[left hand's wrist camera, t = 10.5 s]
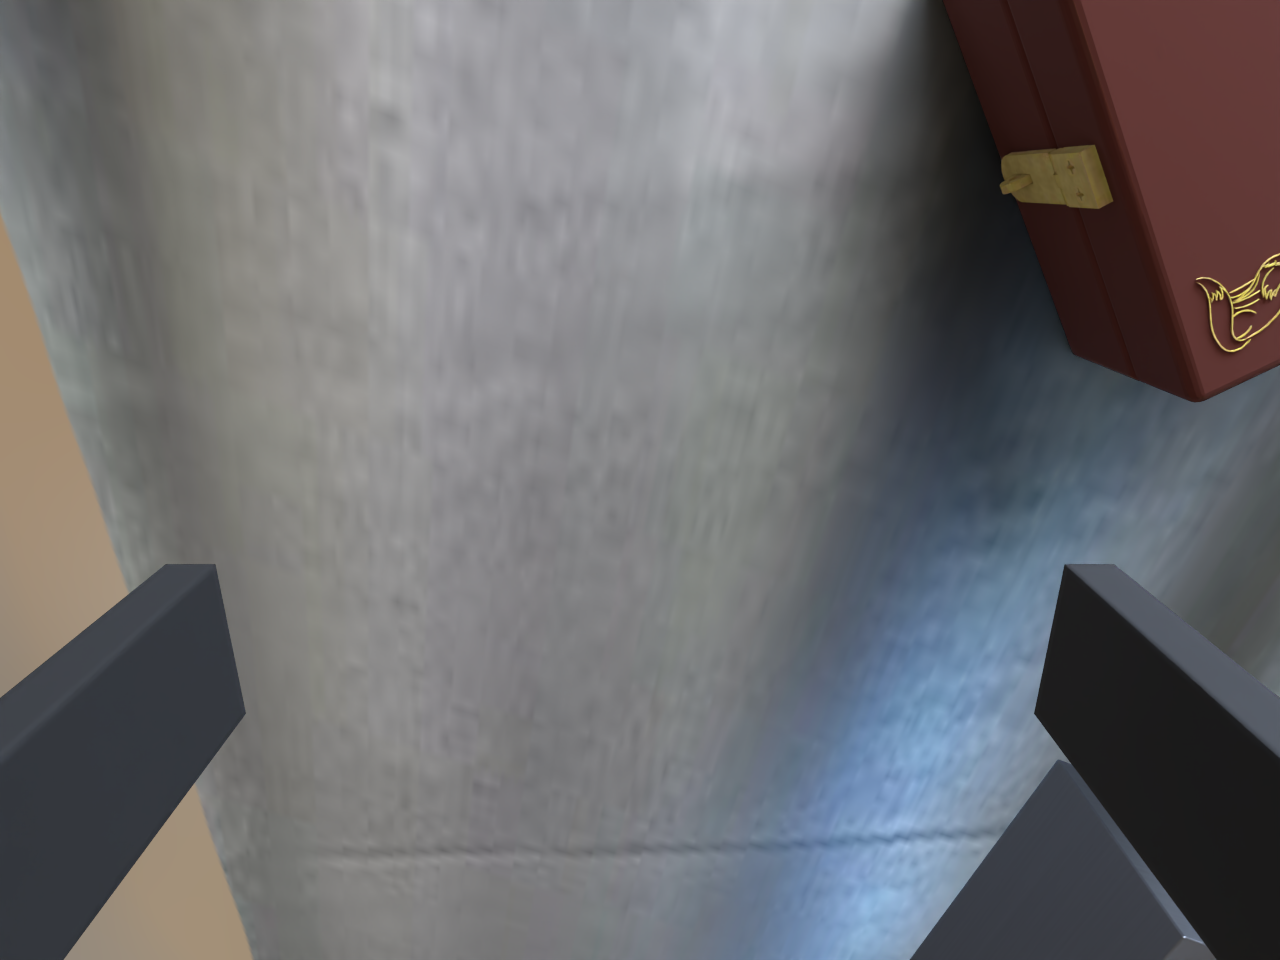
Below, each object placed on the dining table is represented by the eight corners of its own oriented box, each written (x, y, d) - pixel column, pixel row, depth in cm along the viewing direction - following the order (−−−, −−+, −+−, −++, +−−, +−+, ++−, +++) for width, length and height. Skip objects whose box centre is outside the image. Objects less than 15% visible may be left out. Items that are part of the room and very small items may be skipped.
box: (897, -26, 36) (987, -98, 27) (1263, -247, 34) (1505, -413, 24) (1049, 372, 43) (1164, 426, 33) (1368, 214, 40) (1591, 225, 31)
